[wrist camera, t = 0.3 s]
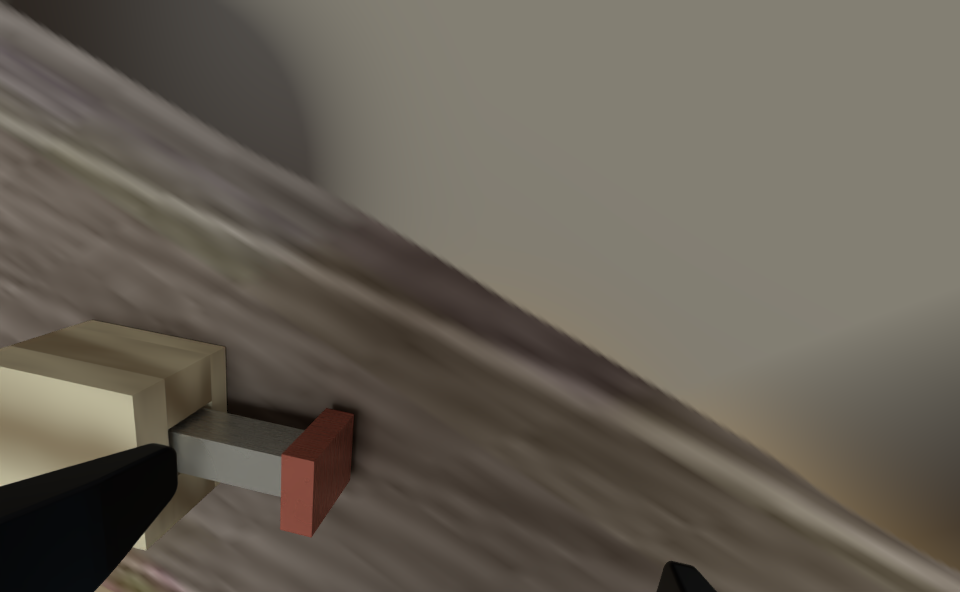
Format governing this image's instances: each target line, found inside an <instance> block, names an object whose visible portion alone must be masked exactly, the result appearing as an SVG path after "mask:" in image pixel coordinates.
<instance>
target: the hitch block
mask: <svg viewBox="0 0 960 592" xmlns="http://www.w3.org/2000/svg"><path fill="white" fill-rule="evenodd" d="M200 408H207V409H211V410H216V411H220V412H225V413H227V392H226V352H225V347H223V346H218V345H213V344H208V343H204V342H199V341H194V340H189V339H184V338H179V337H174V336H169V335H164V334H159V333H154V332H149V331H144V330H139V329H134V328H130V327H125V326H120V325H115V324H110V323H105V322H100V321H95V320H90V321H86V322H83V323H80V324H77V325H74V326H71V327H67V328H64V329H61V330H58V331H55V332H52V333H48V334H45V335H42V336H39V337H36V338H33V339H30V340H26V341H23V342H20V343H17V344H14V345H11V346H7V347H4V348H1V349H0V486H3V485H7V484H10V483H14V482H17V481H21V480H24V479H28V478H31V477H35V476H38V475H42V474H45V473H48V472H52V471H55V470H59V469H62V468H66V467H69V466H73V465H76V464H80V463H83V462H87V461H90V460H94V459H97V458H101V457H104V456H108V455H111V454H114V453H118V452H121V451H125V450H128V449H132V448H135V447H139V446H142V445H146V444H150V443H158V444H162V445H166V446H169V440H168V429H170V428H171V427H173V426H174V425H176V424H177V423H179V422H180V421H182V420H184V419H185V418H187V417H188V416H190V415H191V414H193V413H194V412H196V411H197V410H199V409H200ZM219 483H220V482H217V481H213V480H208V479H204V478H200V477H196V476H192V475H188V474H184V473H180V472H178V487H177V490H176V493H175V495H174V496H173V498H172V499H171V501H170V502H169V503H168V504H167V506H166V507H165V508H164V509H163V510H162V512H161V513H160V514H159V515H158V517H157V518H156V519H155V520H154V522H153V523H152V524H151V525H150V526H149V528H148V529H147V530H146V531H145V533H144V534H143V535H142V536H141V537H140V539H139V540H138V541H137V542H136V544H135V545H134V546H133V547H134V548H138V549H142V550H145V551H147V550H148V549H149V548H150V547H151V546H152V545H153V544H154V543H155V542H156V541H157V540H159V539H160V538H161V537H162V536H163V535H164V534H165V533H166V532H167V531H168V530H169V529H170V528H172V527H173V526H174V525H175V524H176V523H177V522H178V521H179V520H180V519H181V518H182V517H184V516H185V515H186V514H187V513H188V512H189V511H190V510H191V509H192V508H193V507H194V506H195V505H197V504H198V503H199V502H200V501H201V500H202V499H203V498H204V497H205V496H206V495H207V494H208V493H210V492H211V491H212V490H213V489H214V488H215V487H216V486H217V485H218V484H219Z"/></svg>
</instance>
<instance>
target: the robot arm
mask: <svg viewBox="0 0 960 592" xmlns="http://www.w3.org/2000/svg"><path fill="white" fill-rule="evenodd" d="M177 487H178V470H177V453H176V451H175V449H174V448H172V447H171V446H166V445H162V444H158V443H150V444H146V445H142V446H139V447H135V448H132V449H128V450H125V451H121V452H118V453H114V454H111V455H108V456H104V457H101V458H97V459H94V460H90V461H87V462H83V463H80V464H76V465H73V466H69V467H66V468H62V469H59V470H55V471H52V472H48V473H45V474H42V475H38V476H35V477H31V478H28V479H24V480H21V481H17V482H14V483H10V484H7V485H3V486H0V592H94V591H95V590H96V589H97V588H98V587H99V586H100V585H101V584H102V583H103V582H104V581H105V579H106V578H107V577H108V576H109V575H110V574H111V573H112V571H113V570H114V569H115V568H116V567H117V566H118V564H119V563H120V562H121V561H122V560H123V558H124V557H125V556H126V555H127V553H128V552H129V551H130V550H131V549H132V547H133V546H134V545H135V544H136V542H137V541H138V540H139V539H140V537H141V536H142V535H143V534H144V533H145V531H146V530H147V529H148V528H149V526H150V525H151V524H152V523H153V522H154V520H155V519H156V518H157V517H158V515H159V514H160V513H161V512H162V510H163V509H164V508H165V507H166V506H167V504H168V503H169V502H170V501H171V499H172V498H173V496H174V495H175V493H176V490H177ZM657 592H717V591H716V590H715V589H714V588H713V587H712V586H711V585H710V584H709V582H708V581H707V580H706V579H705V578H704V577H703V576H702V575H701V573H700V572H699V571H698V570H697V569H696V568H695V567H693V566H691V565H688V564H683V563H679V562H674V561H669V562H667V563H666V564H665V566H664V569H663V572H662V576H661V579H660V582H659V586H658V589H657Z"/></svg>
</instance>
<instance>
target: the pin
mask: <svg viewBox="0 0 960 592" xmlns="http://www.w3.org/2000/svg"><path fill="white" fill-rule="evenodd" d="M353 425H354V414H352V413H347V412H342V411H338V410H333V409H328V408H326V409H325V410H324V411H323V412H322V413H321V414H320V415H319V416H318V417H317V418H316V419H315V420H314V421H313V422H312V423H311V424H310V425H309V426H308V428H307V429H306V430H301V429H297V428H292V427H288V426H283V425H279V424H274V423H270V422H265V421H261V420H256V419H252V418H247V417H243V416H238V415H234V414H229V413H225V412H220V411H216V410H211V409H207V408H200V409H199V410H197V411H196V412H194V413H193V414H191V415H190V416H188V417H187V418H185V419H184V420H182V421H180V422H179V423H177V424H176V425H174V426H173V427H171V428H170V429H168V440H169V446H171V447H172V448H174V449H175V451H176V453H177V470H178V472H180V473H184V474H188V475H192V476H196V477H200V478H204V479H208V480H213V481H217V482H221V483H225V484H229V485H233V486H237V487H242V488H246V489H250V490H254V491H258V492H262V493H266V494H271V495H275V496H279V497H281V524H280V530H284V531H288V532H292V533H296V534H300V535H304V536H308V537H312V536H313V534H314V533H315V531H316V530H317V528H318V527H319V525H320V524H321V522H322V521H323V519H324V518H325V516H326V515H327V513H328V512H329V511H330V509H331V508H332V506H333V505H334V503H335V502H336V500H337V499H338V497H339V496H340V494H341V493H342V491H343V490H344V488H345V487H346V485H347V484H348V482H349V481H350V472H351V456H352V440H353Z"/></svg>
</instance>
